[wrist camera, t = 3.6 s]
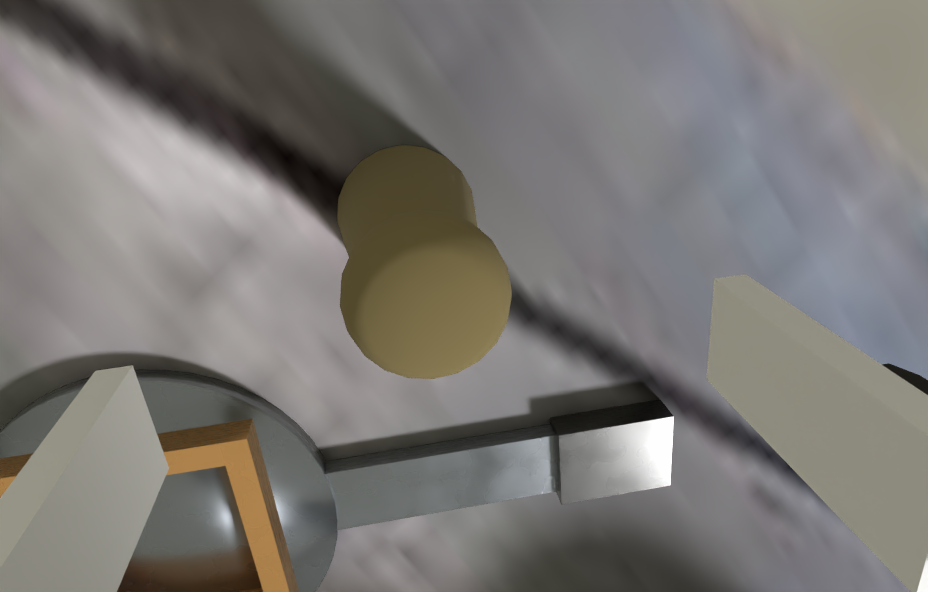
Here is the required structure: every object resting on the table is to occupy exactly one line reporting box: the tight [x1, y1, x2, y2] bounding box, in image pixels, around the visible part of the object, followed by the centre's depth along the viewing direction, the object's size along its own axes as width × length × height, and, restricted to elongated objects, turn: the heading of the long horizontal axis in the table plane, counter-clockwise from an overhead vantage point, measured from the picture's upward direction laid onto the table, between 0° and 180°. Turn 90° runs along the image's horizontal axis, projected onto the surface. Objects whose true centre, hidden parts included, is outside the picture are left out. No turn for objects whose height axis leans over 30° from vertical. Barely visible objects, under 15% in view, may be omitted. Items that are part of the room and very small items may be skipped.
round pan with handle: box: [0, 370, 674, 592], centre depth 32 cm, size 34×17×3 cm, turn 95°
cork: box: [337, 145, 512, 379], centre depth 23 cm, size 6×6×11 cm
